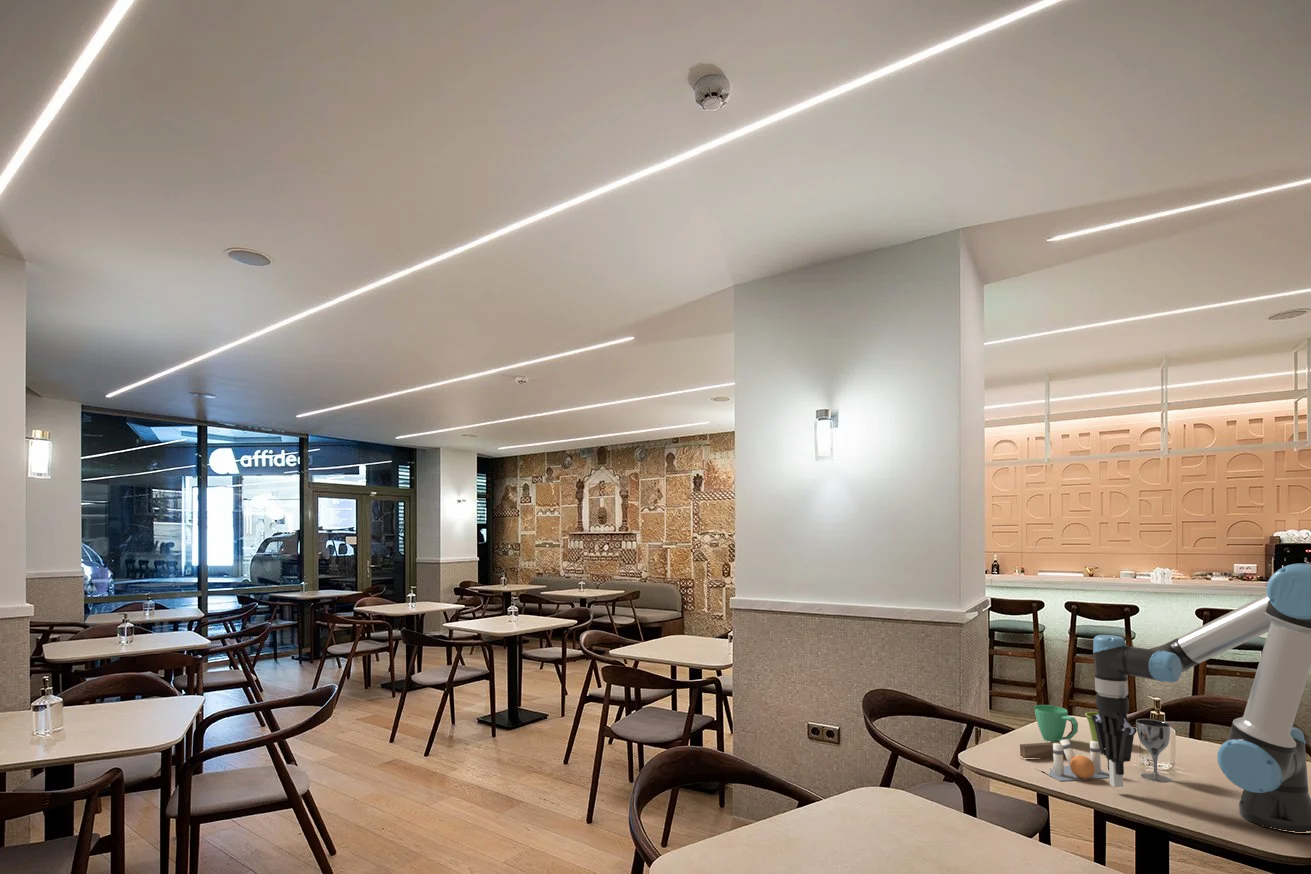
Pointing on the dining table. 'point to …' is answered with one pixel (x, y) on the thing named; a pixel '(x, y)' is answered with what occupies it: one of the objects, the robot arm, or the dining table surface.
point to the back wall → (1038, 750)
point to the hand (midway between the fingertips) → (1116, 785)
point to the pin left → (1058, 759)
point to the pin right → (1095, 756)
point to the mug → (1054, 722)
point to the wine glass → (1154, 743)
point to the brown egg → (1082, 767)
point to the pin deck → (1071, 776)
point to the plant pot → (1092, 725)
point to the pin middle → (1067, 750)
